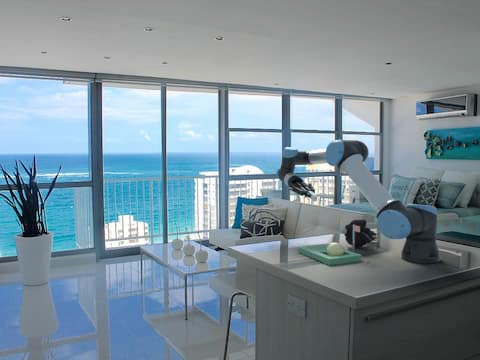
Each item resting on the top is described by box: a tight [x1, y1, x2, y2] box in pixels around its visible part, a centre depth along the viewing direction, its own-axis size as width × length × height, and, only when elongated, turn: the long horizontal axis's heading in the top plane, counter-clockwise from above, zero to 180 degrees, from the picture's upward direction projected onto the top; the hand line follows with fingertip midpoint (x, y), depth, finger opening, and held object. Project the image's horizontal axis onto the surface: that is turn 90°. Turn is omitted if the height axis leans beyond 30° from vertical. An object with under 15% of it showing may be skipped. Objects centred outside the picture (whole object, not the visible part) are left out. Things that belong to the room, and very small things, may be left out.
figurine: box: [339, 219, 381, 249], centre depth 199 cm, size 14×13×30 cm
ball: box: [327, 241, 344, 257], centre depth 176 cm, size 7×7×7 cm
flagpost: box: [352, 225, 360, 253], centre depth 178 cm, size 4×1×14 cm, turn 23°
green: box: [297, 243, 363, 266], centre depth 181 cm, size 24×16×2 cm, turn 23°
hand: (315, 198), depth 199 cm, fingers closed
